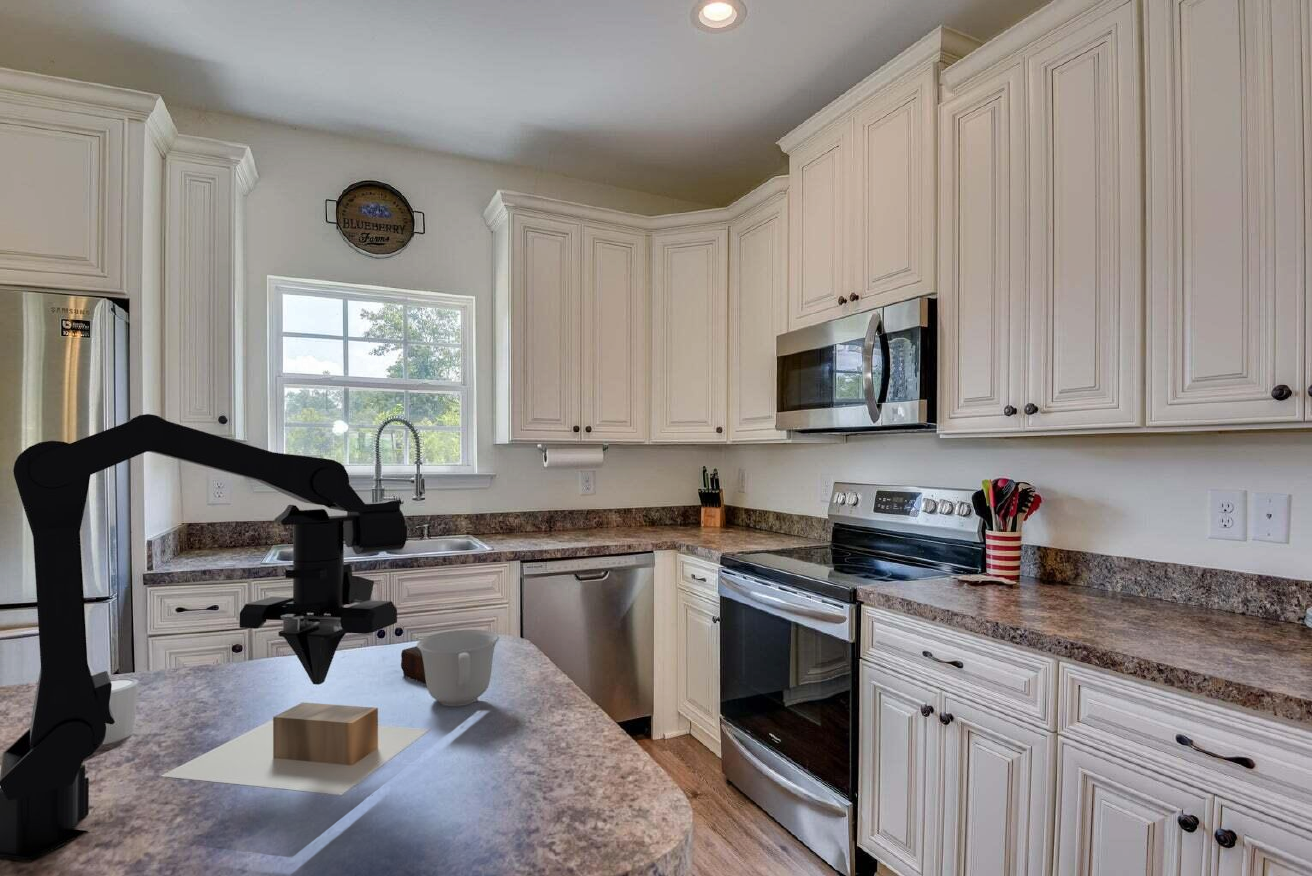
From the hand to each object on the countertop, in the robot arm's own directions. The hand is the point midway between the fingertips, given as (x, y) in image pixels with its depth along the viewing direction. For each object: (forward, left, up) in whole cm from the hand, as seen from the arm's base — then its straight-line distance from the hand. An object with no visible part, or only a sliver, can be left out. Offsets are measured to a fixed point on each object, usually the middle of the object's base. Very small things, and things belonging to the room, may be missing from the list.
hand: (318, 683), depth 85 cm
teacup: (+19, -9, -10) cm, 23 cm away
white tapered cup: (+1, +34, -10) cm, 35 cm away
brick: (+31, +3, -10) cm, 33 cm away
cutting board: (0, +2, -10) cm, 10 cm away
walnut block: (0, +4, -6) cm, 7 cm away
